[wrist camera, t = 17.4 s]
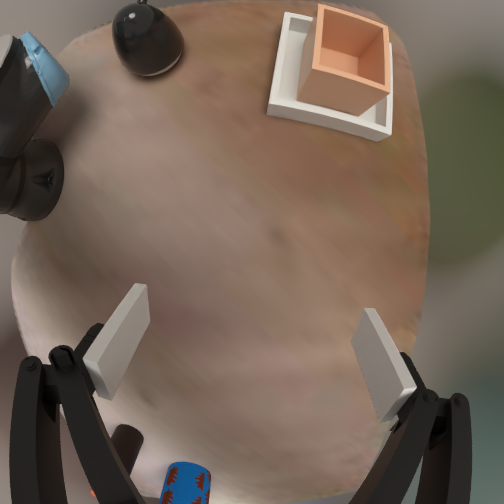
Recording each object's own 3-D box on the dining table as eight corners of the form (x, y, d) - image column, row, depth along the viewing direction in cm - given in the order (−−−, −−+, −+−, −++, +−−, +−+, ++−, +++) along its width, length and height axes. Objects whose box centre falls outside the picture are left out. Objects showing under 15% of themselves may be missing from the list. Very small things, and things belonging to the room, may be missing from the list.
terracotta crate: (296, 100, 36) (311, 68, 25) (304, 42, 34) (318, 3, 23) (358, 116, 37) (390, 93, 26) (361, 58, 35) (387, 26, 24)
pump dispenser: (196, 37, 35) (179, -18, 20) (176, 86, 36) (145, 38, 21) (144, 35, 34) (113, -13, 19) (122, 82, 36) (78, 42, 21)
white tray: (266, 114, 37) (268, 103, 33) (281, 28, 35) (285, 11, 30) (376, 141, 38) (391, 135, 33) (379, 55, 35) (391, 43, 30)
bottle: (114, 420, 46) (81, 482, 27) (142, 428, 47) (115, 496, 27) (118, 438, 47) (90, 497, 28) (145, 446, 48) (121, 509, 28)
